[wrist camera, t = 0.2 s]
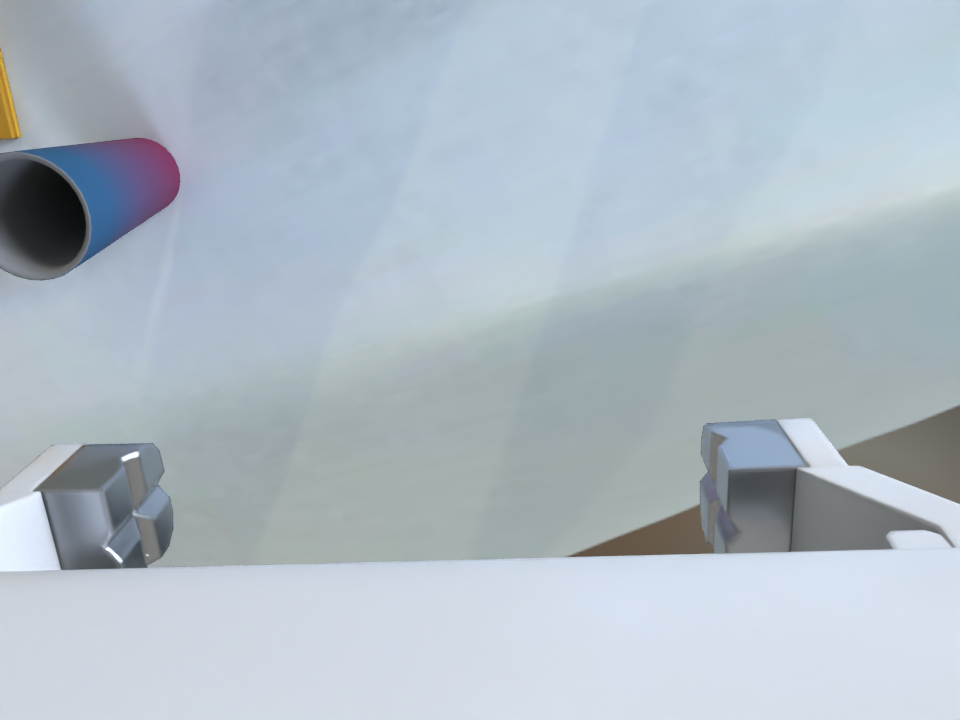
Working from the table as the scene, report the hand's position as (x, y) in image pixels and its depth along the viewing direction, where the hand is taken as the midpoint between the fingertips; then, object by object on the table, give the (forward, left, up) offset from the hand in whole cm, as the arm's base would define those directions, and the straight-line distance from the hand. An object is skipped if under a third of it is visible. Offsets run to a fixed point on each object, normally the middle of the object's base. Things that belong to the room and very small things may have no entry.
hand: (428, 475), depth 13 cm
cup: (+1, -25, -48) cm, 54 cm away
